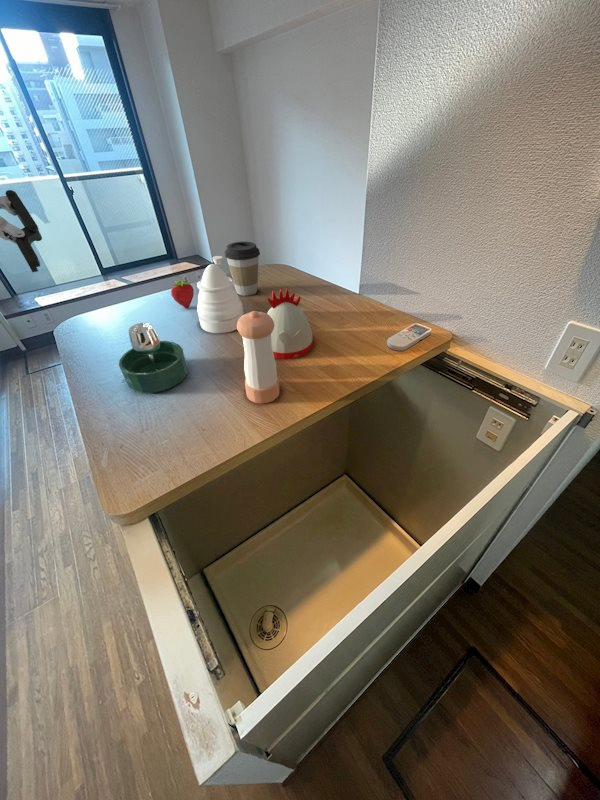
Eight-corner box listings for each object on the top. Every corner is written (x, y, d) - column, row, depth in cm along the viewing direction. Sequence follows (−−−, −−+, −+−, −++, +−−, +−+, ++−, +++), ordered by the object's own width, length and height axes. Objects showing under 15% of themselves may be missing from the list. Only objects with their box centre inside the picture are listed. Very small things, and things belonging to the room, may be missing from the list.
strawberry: (171, 311, 102) (162, 279, 96) (187, 301, 107) (179, 271, 101) (186, 314, 100) (177, 282, 94) (201, 305, 105) (194, 273, 99)
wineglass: (139, 379, 75) (119, 332, 67) (154, 365, 79) (137, 320, 71) (160, 383, 74) (143, 336, 66) (175, 369, 78) (160, 323, 70)
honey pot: (228, 308, 103) (218, 248, 91) (253, 322, 96) (245, 258, 84) (192, 322, 96) (176, 259, 85) (216, 338, 89) (202, 271, 78)
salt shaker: (248, 406, 68) (235, 323, 56) (244, 385, 74) (232, 305, 61) (282, 400, 70) (277, 318, 57) (276, 380, 75) (270, 301, 62)
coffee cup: (268, 287, 115) (265, 242, 105) (253, 300, 107) (248, 253, 97) (240, 283, 118) (235, 239, 109) (224, 295, 111) (216, 248, 101)
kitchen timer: (256, 334, 91) (250, 281, 81) (304, 328, 93) (304, 275, 83) (265, 362, 80) (259, 305, 71) (318, 354, 83) (320, 297, 73)
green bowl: (118, 395, 71) (108, 375, 68) (139, 360, 82) (132, 341, 78) (180, 394, 72) (173, 374, 68) (194, 359, 82) (189, 340, 78)
